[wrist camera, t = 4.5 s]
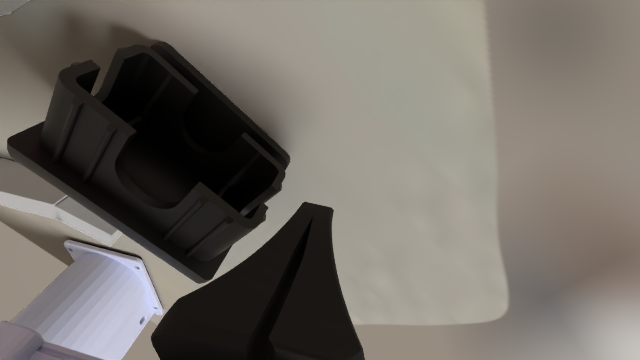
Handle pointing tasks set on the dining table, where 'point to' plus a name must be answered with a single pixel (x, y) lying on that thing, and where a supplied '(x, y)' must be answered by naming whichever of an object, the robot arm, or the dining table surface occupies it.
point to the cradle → (47, 188)
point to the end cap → (156, 156)
